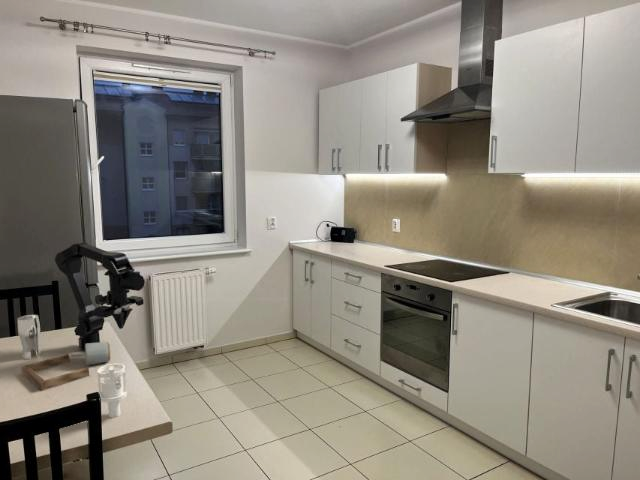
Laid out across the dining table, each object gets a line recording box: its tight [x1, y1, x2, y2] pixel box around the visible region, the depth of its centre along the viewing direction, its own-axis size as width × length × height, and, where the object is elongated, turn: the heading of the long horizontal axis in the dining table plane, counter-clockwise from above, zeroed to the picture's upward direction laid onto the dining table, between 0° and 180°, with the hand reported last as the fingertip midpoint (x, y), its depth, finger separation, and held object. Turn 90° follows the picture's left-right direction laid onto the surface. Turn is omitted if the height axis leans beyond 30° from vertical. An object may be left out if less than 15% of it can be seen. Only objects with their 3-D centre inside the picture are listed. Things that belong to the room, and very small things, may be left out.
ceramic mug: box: [84, 341, 112, 366], centre depth 170 cm, size 11×8×8 cm
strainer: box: [96, 363, 128, 419], centre depth 132 cm, size 7×7×15 cm
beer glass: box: [17, 314, 42, 360], centre depth 174 cm, size 7×7×15 cm
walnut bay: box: [21, 353, 90, 392], centre depth 159 cm, size 14×19×2 cm
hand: (121, 328), depth 174 cm, fingers closed
